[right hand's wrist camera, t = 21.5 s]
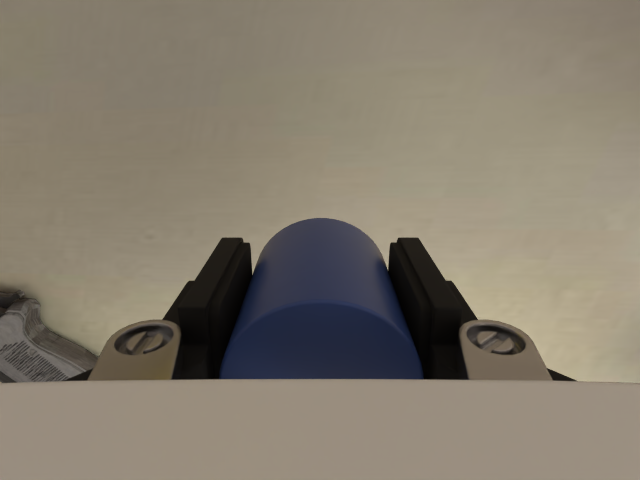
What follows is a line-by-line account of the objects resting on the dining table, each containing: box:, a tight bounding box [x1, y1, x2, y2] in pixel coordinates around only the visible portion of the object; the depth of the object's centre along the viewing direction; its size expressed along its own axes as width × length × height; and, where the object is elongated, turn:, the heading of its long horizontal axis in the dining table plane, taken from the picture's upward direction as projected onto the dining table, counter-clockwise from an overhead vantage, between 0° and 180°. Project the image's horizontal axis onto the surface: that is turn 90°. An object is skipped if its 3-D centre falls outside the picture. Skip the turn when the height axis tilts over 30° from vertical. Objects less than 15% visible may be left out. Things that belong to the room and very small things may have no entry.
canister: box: [219, 218, 424, 380], centre depth 10 cm, size 4×4×5 cm
